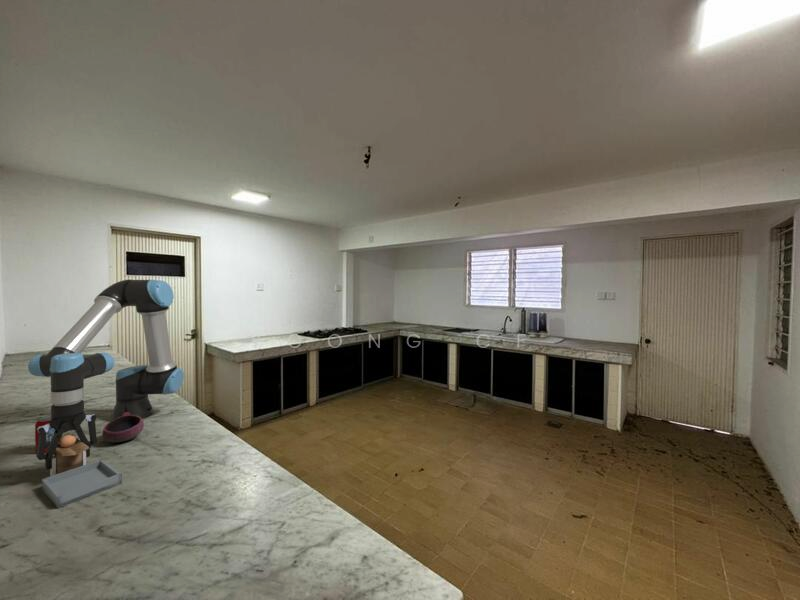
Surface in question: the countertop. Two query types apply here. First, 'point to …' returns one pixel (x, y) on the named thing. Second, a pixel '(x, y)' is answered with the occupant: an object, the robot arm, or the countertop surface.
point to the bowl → (123, 428)
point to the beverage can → (49, 434)
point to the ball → (67, 440)
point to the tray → (80, 482)
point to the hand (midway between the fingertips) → (68, 472)
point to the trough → (69, 456)
